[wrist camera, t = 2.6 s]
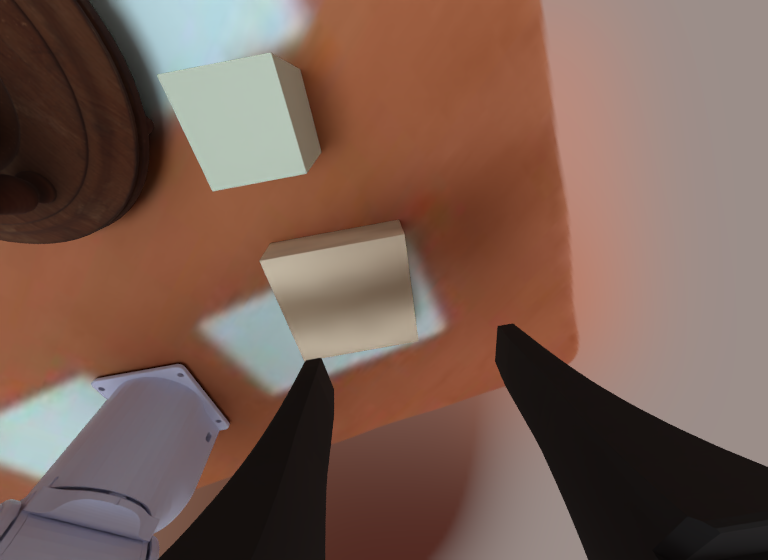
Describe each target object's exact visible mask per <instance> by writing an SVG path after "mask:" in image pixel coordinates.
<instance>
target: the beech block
mask: <svg viewBox="0 0 768 560" xmlns="http://www.w3.org/2000/svg"><path fill="white" fill-rule="evenodd" d="M260 263H261V266H262V268H263V270H264V272H265V274H266V277H267V279H268V281H269V283H270V286H271V288H272V290H273V292H274V295H275V297H276V299H277V301H278V303H279V306H280V308H281V310H282V312H283V315H284V317H285V319H286V321H287V324H288V326H289V328H290V330H291V332H292V335H293V337H294V339H295V341H296V344H297V346H298V348H299V350H300V353H301V355H302V357H303V359H304V361H306V360H310V359H316V358H326V357H332V356H337V355H343V354H349V353H354V352H360V351H365V350H371V349H377V348H382V347H388V346H393V345H399V344H405V343H410V342H416V341H418V334H417V326H416V318H415V311H414V303H413V295H412V288H411V280H410V272H409V265H408V257H407V249H406V242H405V234H404V232H403V229H402V226H401V223H400V221H399V220H395V221H389V222H384V223H378V224H373V225H367V226H362V227H356V228H351V229H346V230H340V231H335V232H329V233H324V234H318V235H313V236H307V237H302V238H296V239H291V240H286V241H280V242H275V243H270V244H269V246H268V248H267V249H266V251H265V253H264V254H263V256H262V258H261V259H260Z"/></svg>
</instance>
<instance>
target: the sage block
mask: <svg viewBox="0 0 768 560" xmlns="http://www.w3.org/2000/svg"><path fill="white" fill-rule="evenodd" d="M157 77H158V79H159V81H160V83H161V85H162V87H163V89H164V91H165V93H166V95H167V97H168V99H169V102H170V104H171V106H172V108H173V110H174V112H175V114H176V116H177V118H178V120H179V122H180V124H181V127H182V129H183V131H184V133H185V135H186V137H187V139H188V141H189V143H190V145H191V147H192V149H193V151H194V154H195V156H196V158H197V160H198V162H199V164H200V166H201V168H202V170H203V172H204V174H205V176H206V179H207V181H208V183H209V185H210V187H211V189H212V191H217V190H222V189H227V188H233V187H238V186H243V185H249V184H254V183H259V182H265V181H270V180H275V179H281V178H286V177H291V176H297V175H302V174H307V172H308V171H309V169H310V168H311V167H312V165H313V164H314V162H315V161H316V159H317V158H318V156H319V155H320V154H321V148H320V144H319V141H318V137H317V133H316V129H315V125H314V121H313V117H312V113H311V109H310V106H309V102H308V98H307V94H306V90H305V86H304V82H303V78H302V74H301V71H300V69H299V68H297V67H295V66H293V65H292V64H290V63H288V62H286V61H285V60H283V59H281V58H280V57H278V56H276V55H274V54H273V53H266V54H261V55H256V56H251V57H245V58H240V59H235V60H230V61H225V62H220V63H214V64H209V65H204V66H199V67H194V68H189V69H184V70H178V71H173V72H168V73H163V74H158V75H157Z"/></svg>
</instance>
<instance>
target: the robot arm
mask: <svg viewBox="0 0 768 560" xmlns="http://www.w3.org/2000/svg"><path fill="white" fill-rule="evenodd" d="M495 362H496V365H497V367H498V369H499V372H500V374H501V377H502V379H503V381H504V384H505V386H506V388H507V389H508V391H509V393H510V395H511V396H512V398H513V400H514V402H515V404H516V405H517V407H518V409H519V411H520V412H521V414H522V416H523V418H524V419H525V421H526V423H527V425H528V426H529V428H530V430H531V432H532V433H533V435H534V437H535V439H536V441H537V443H538V445H539V447H540V448H541V450H542V453H543V454H544V457H545V459H546V461H547V463H548V466H549V468H550V470H551V472H552V474H553V477H554V479H555V481H556V483H557V485H558V488H559V490H560V493H561V495H562V497H563V499H564V501H565V504H566V506H567V509H568V511H569V513H570V516H571V518H572V520H573V523H574V525H575V528H576V530H577V533H578V535H579V538H580V540H581V543H582V545H583V548H584V550H585V553H586V555H587V558H588V560H768V467H766V466H764V465H762V464H759V463H757V462H754V461H752V460H749V459H747V458H744V457H742V456H740V455H737V454H735V453H732V452H730V451H727V450H725V449H723V448H720V447H718V446H716V445H714V444H711V443H709V442H707V441H705V440H703V439H700V438H698V437H696V436H694V435H692V434H689V433H687V432H685V431H683V430H681V429H679V428H677V427H675V426H673V425H670V424H668V423H666V422H664V421H663V420H661V419H659V418H657V417H655V416H653V415H651V414H649V413H647V412H645V411H643V410H641V409H639V408H637V407H635V406H634V405H632V404H630V403H628V402H626V401H625V400H623V399H621V398H619V397H618V396H616V395H614V394H612V393H611V392H609V391H607V390H606V389H604V388H602V387H601V386H599V385H597V384H596V383H594V382H592V381H591V380H589V379H588V378H586V377H585V376H583V375H582V374H580V373H579V372H577V371H576V370H574V369H573V368H572V367H570V366H569V365H567V364H566V363H564V362H563V361H562V360H560V359H559V358H558V357H556V356H555V355H553V354H552V353H551V352H549V351H548V350H547V349H545V348H544V347H543V346H541V345H540V344H539V343H537V342H536V341H535V340H533V339H532V338H531V337H530V336H528V335H527V334H526V333H525V332H523V331H522V330H521V329H519V328H518V327H517V326H515V325H514V324H507V325H502V326H498V328H497V342H496V356H495ZM91 385H92V386H93V387H94V388H95V389H96V390H97V391H98V392H99V393H100V394H101V395H103V396H104V397H105V398H106V399H107V401H106V402H105V403H104V404H103V405H102V407H101V408H100V409H99V410H98V411H97V413H96V414H95V415H94V416H93V417H92V419H91V420H90V421H89V422H88V423H87V425H86V426H85V427H84V428H83V429H82V431H81V432H80V433H79V434H78V435H77V437H76V438H75V439H74V440H73V441H72V443H71V444H70V445H69V446H68V447H67V449H66V450H65V451H64V452H63V453H62V454H61V456H60V457H59V458H58V459H57V460H56V462H55V463H54V464H53V465H52V466H51V468H50V469H49V470H48V471H47V472H46V474H45V475H44V476H43V477H42V478H41V480H40V481H39V482H38V483H37V484H36V486H35V487H34V488H33V489H32V490H31V492H30V493H29V494H28V495H27V496H26V497H25V498H24V499H22V500H21V501H17V500H13V499H10V500H7V501H4V502H3V503H1V504H0V560H325V518H326V517H325V516H326V486H327V485H326V484H327V472H328V464H329V455H330V447H331V438H332V429H333V420H334V388H333V386H332V383H331V381H330V378H329V376H328V373H327V371H326V368H325V366H324V364H323V361H322V359H321V358H316V359H310V360H306V361H305V363H304V365H303V366H302V368H301V370H300V372H299V374H298V376H297V378H296V380H295V382H294V384H293V385H292V387H291V389H290V391H289V393H288V394H287V396H286V398H285V400H284V401H283V403H282V405H281V407H280V408H279V410H278V412H277V413H276V415H275V417H274V418H273V420H272V421H271V423H270V424H269V426H268V428H267V429H266V431H265V432H264V434H263V435H262V437H261V438H260V440H259V441H258V443H257V444H256V446H255V447H254V448H253V450H252V451H251V453H250V454H249V455H248V457H247V458H246V459H245V461H244V462H243V463H242V465H241V466H240V467H239V469H238V470H237V471H236V472H235V474H234V475H233V476H232V478H231V479H230V480H229V481H228V483H227V484H226V485H225V486H224V488H223V489H222V490H221V491H220V493H219V494H218V495H217V496H216V497H215V499H214V500H213V501H212V502H211V503H210V504H209V505H208V506H207V507H206V509H205V510H204V511H203V512H202V513H201V514H200V515H199V516H198V518H197V519H196V520H195V521H194V522H193V523H192V524H191V526H190V527H189V528H188V529H187V530H186V531H185V532H184V533H183V534H182V535H181V536H180V537H179V539H178V540H177V541H176V542H175V543H174V544H173V545H172V546H171V547H170V548H169V549H168V550H167V551H166V552H165V553H164V554H163V555H162V556H161V557H160V558H159V541H158V539H157V538H156V537H154V536H153V534H154V533H156V532H157V531H159V530H161V529H162V528H164V527H165V526H167V525H168V524H169V523H170V522H171V521H173V520H174V519H175V518H176V517H177V515H178V514H179V513H180V512H181V511H182V510H183V509H184V507H185V506H186V504H187V503H188V502H189V500H190V498H191V497H192V495H193V493H194V491H195V488H196V486H197V484H198V481H199V479H200V476H201V474H202V472H203V469H204V467H205V464H206V462H207V460H208V457H209V455H210V452H211V450H212V448H213V445H214V443H215V440H216V438H217V436H218V433H219V431H220V430H225V429H228V427H229V425H230V423H229V422H228V421H227V419H226V418H225V417H224V416H223V414H222V413H221V412H220V410H219V409H218V408H217V407H216V405H215V404H214V403H213V402H212V400H211V399H210V398H209V397H208V395H207V394H206V393H205V391H204V390H203V389H202V388H201V386H200V385H199V384H198V383H197V381H196V380H195V379H194V378H193V376H192V375H191V374H190V372H189V371H188V370H187V369H186V367H185V366H184V365H181V364H175V365H169V366H163V367H158V368H152V369H147V370H141V371H135V372H130V373H124V374H119V375H113V376H107V377H102V378H96V379H94V381H93V382H92V383H91Z"/></svg>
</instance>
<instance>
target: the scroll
mask: <svg viewBox="0 0 768 560" xmlns="http://www.w3.org/2000/svg"><path fill="white" fill-rule="evenodd" d="M153 128H154V123H153V121H152V120H151V119H150V118H148V117H147V116H145V112H144V109H143V105H142V102H141V98H140V95H139V92H138V90H137V87H136V84H135V82H134V79H133V77H132V74H131V72H130V70H129V68H128V66H127V64H126V61H125V59H124V57H123V55H122V53H121V51H120V50H119V48H118V46H117V44H116V42H115V40H114V39H113V37H112V35H111V34H110V32H109V30H108V29H107V27H106V26H105V24H104V22H103V21H102V19H101V18H100V16H99V15H98V13H97V12H96V10H95V9H94V8H93V6H92V5H91V3H90V2H89V1H88V0H0V240H3V241H9V242H17V243H29V244H50V243H59V242H66V241H71V240H75V239H79V238H82V237H84V236H87V235H90V234H92V233H94V232H96V231H98V230H100V229H102V228H104V227H106V226H108V225H110V224H112V223H113V222H115V221H116V220H118V219H119V218H121V217H122V216H123V215H124V214H125V213H126V212H127V211H128V210H129V209H130V208H131V207H132V205H133V204H134V203H135V202H136V200H137V198H138V196H139V195H140V193H141V191H142V188H143V186H144V183H145V180H146V176H147V172H148V165H149V135H148V134H150V133H151V132H152V130H153Z"/></svg>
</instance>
